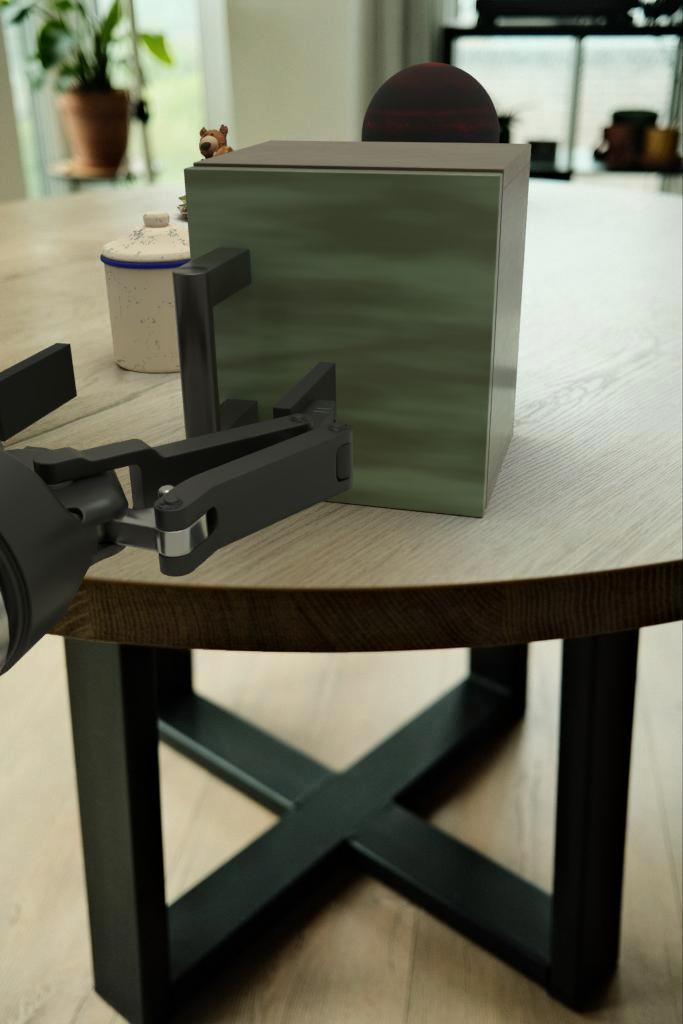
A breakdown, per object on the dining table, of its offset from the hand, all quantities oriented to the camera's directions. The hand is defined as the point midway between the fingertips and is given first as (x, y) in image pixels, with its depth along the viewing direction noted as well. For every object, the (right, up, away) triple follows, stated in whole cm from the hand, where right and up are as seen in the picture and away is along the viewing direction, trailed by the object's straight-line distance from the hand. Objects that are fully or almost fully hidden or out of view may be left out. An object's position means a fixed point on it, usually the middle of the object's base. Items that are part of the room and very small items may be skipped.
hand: (193, 379), depth 49 cm
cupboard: (+9, -3, +14) cm, 17 cm away
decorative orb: (+20, +39, +103) cm, 112 cm away
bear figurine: (-10, +37, +100) cm, 107 cm away
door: (+6, -7, +5) cm, 11 cm away
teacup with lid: (-7, +7, +35) cm, 37 cm away
